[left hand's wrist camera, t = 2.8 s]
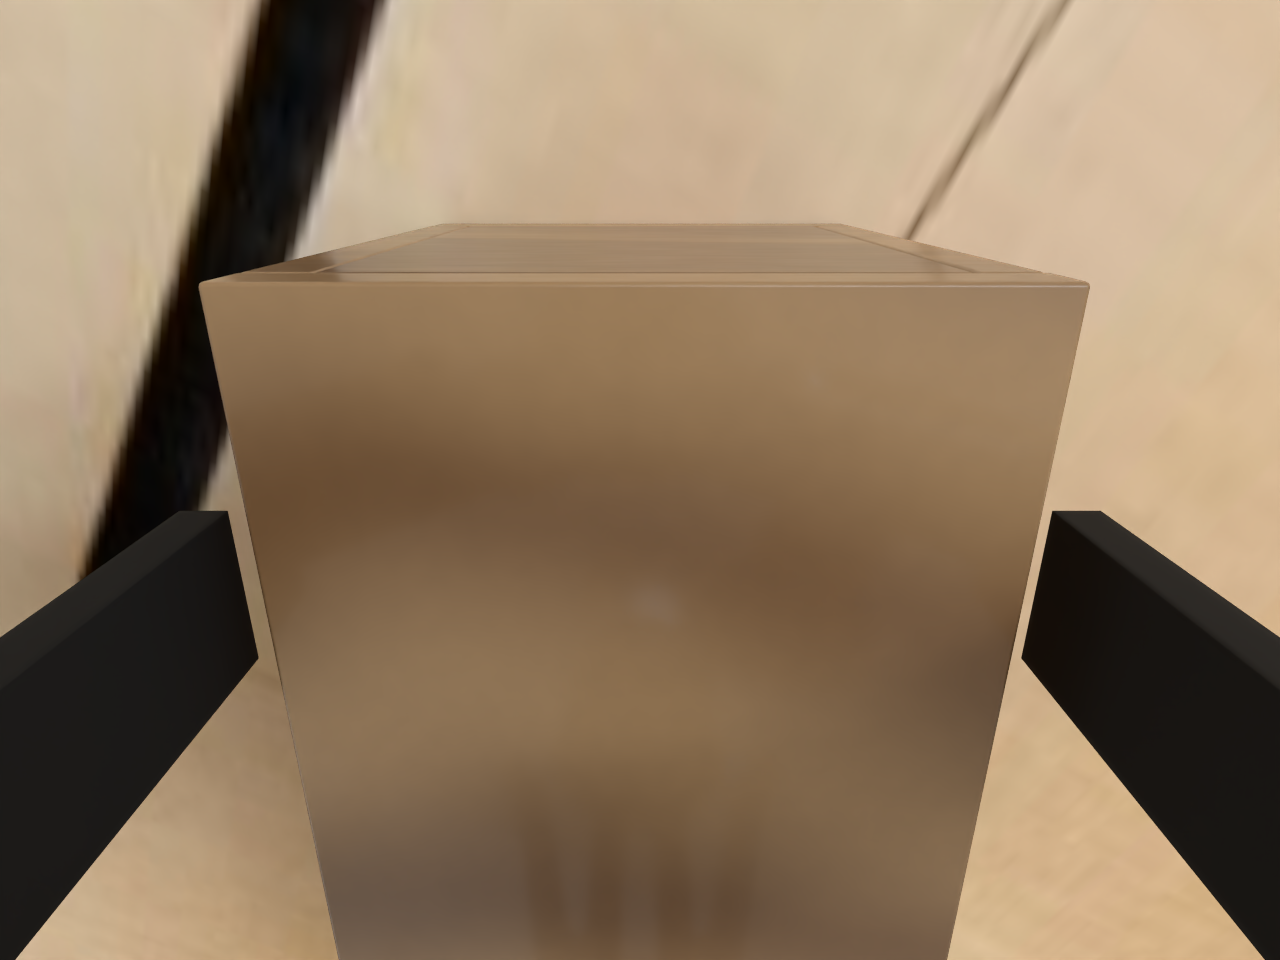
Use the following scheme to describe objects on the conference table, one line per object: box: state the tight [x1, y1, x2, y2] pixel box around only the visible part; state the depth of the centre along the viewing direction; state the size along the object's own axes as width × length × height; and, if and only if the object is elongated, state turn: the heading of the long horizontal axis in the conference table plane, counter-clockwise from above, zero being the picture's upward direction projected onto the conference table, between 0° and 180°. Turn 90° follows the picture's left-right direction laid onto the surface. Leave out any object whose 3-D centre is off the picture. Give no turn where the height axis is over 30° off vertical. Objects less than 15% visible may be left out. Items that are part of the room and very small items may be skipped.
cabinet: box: [199, 224, 1090, 960], centre depth 17 cm, size 20×10×11 cm, turn 0°
